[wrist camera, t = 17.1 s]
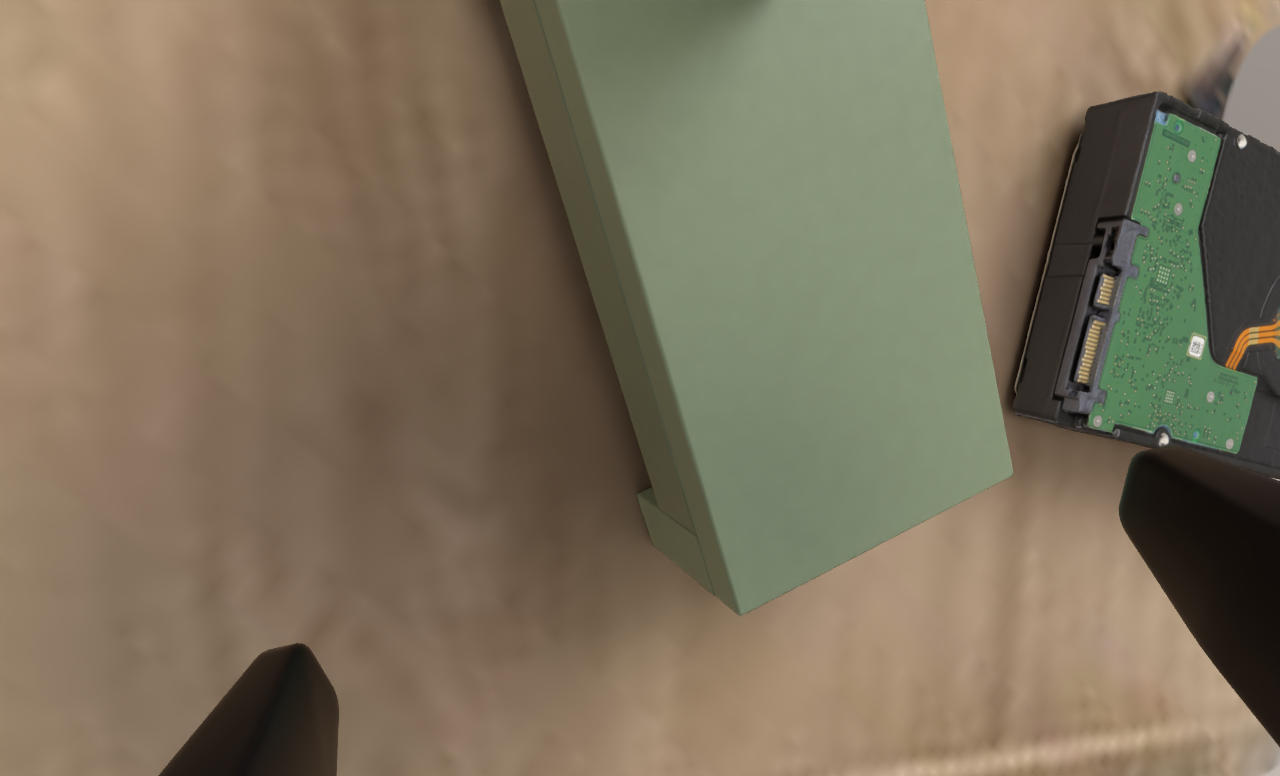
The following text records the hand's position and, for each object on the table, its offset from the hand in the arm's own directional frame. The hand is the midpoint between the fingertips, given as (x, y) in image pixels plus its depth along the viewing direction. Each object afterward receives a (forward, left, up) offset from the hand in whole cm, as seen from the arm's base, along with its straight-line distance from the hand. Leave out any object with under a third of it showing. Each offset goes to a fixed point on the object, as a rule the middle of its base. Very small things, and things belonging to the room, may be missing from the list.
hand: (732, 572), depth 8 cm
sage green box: (+7, +4, -12) cm, 14 cm away
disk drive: (+24, -6, -12) cm, 27 cm away
